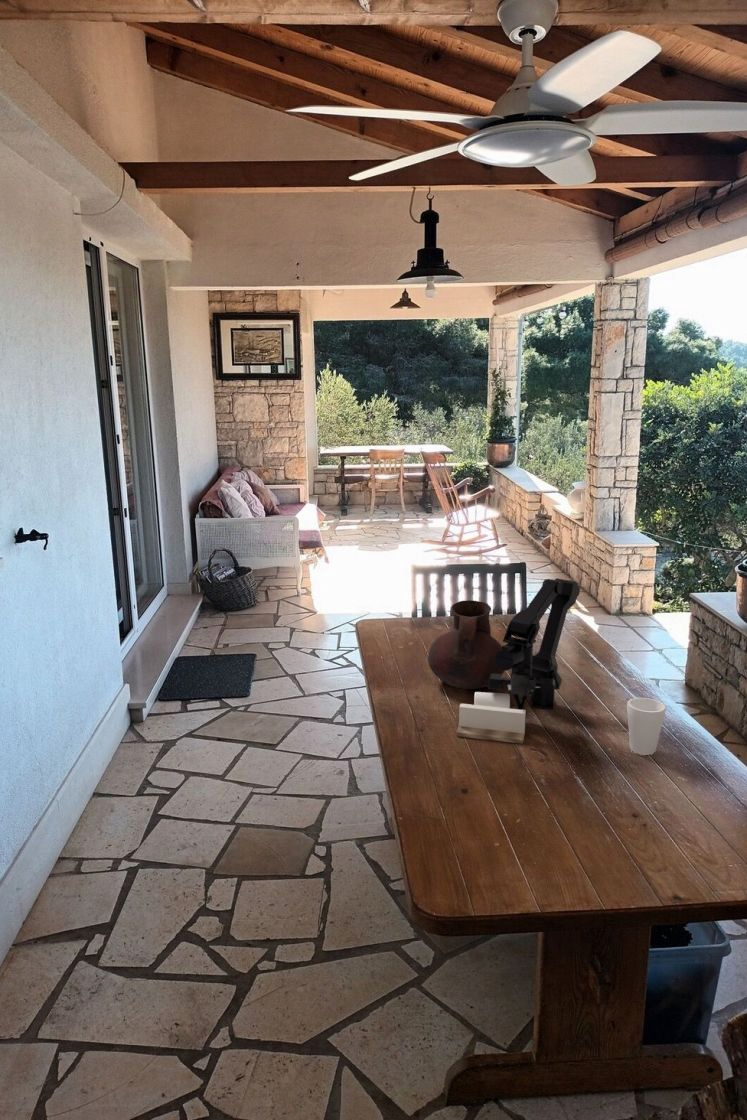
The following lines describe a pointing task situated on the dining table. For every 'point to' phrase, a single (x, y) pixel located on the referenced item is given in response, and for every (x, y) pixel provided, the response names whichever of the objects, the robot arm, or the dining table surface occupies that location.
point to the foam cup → (644, 724)
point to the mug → (492, 699)
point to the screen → (491, 723)
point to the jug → (466, 648)
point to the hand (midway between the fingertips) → (520, 711)
